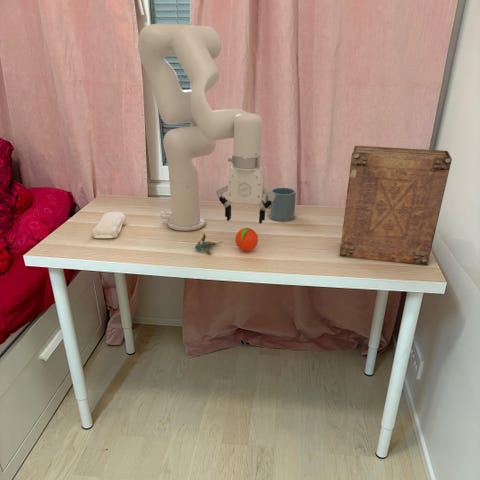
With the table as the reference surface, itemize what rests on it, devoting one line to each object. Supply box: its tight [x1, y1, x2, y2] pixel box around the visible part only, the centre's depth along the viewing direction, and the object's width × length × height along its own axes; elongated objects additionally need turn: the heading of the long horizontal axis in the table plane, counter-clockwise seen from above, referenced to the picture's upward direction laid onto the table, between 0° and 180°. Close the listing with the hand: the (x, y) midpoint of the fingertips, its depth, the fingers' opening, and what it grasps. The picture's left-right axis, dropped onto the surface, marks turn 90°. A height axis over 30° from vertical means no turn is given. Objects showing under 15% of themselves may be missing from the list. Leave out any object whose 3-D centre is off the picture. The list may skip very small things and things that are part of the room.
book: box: [339, 145, 453, 266], centre depth 136 cm, size 25×9×30 cm, turn 75°
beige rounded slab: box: [91, 211, 127, 239], centre depth 160 cm, size 18×8×4 cm, turn 179°
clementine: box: [234, 227, 259, 252], centre depth 144 cm, size 8×7×7 cm
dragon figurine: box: [194, 233, 223, 255], centre depth 147 cm, size 7×7×8 cm
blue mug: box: [264, 187, 297, 222], centre depth 171 cm, size 12×9×10 cm
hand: (244, 220), depth 142 cm, fingers open, 9 cm apart
